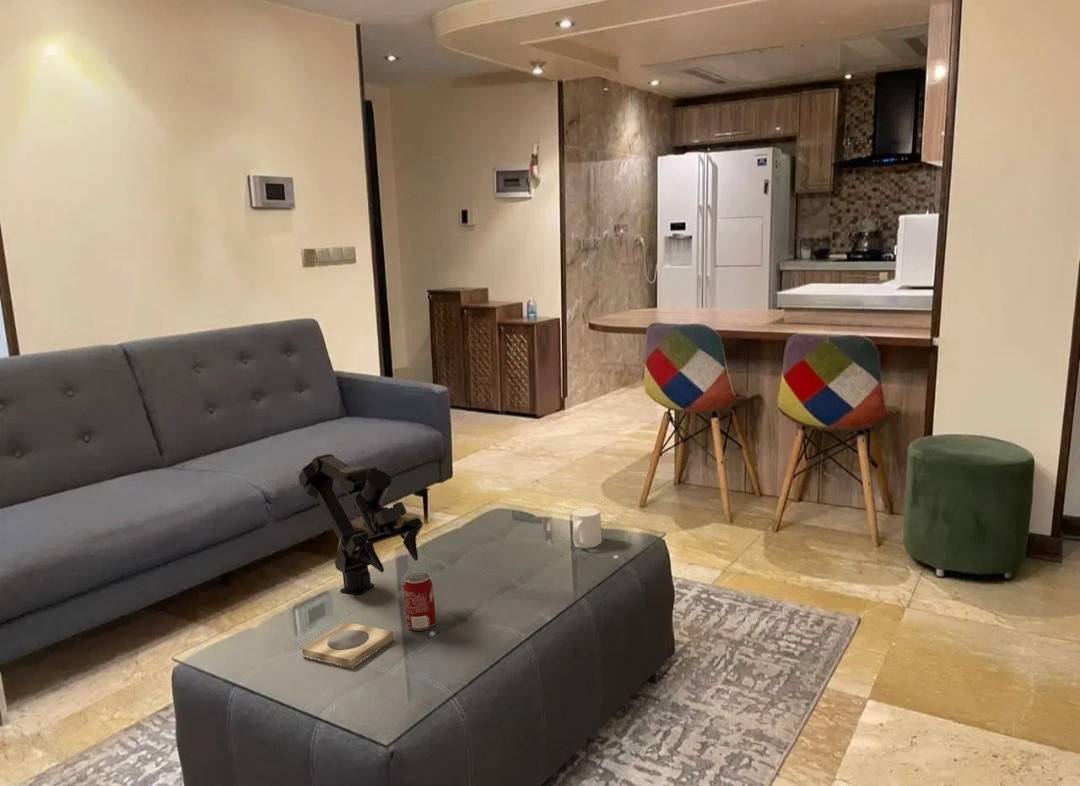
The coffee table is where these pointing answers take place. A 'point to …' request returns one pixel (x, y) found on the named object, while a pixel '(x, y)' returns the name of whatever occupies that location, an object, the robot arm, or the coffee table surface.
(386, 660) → the coffee table surface
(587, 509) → the mug
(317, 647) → the base slab
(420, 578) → the soda can
